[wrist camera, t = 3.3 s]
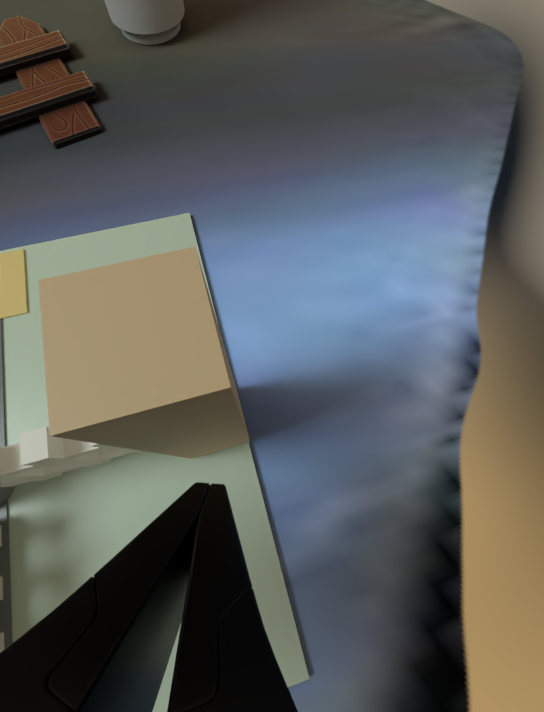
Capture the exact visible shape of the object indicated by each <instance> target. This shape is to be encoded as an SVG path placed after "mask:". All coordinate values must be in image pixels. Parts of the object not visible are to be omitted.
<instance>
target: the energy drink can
mask: <svg viewBox="0 0 544 712" xmlns="http://www.w3.org/2000/svg"><path fill="white" fill-rule="evenodd" d="M105 3H106V6H107V9H108V12H109V15H110V18H111V20H112V21H113V23H114V24H115V25H116V26H117V27H119V28H120V29H121V30H122V33H123V34H124V36H125V37H126V38H128V39H129V40H131V41H133V42H135V43H139V44H145V45H155V44H160V43H164V42H167V41H169V40H171V39H172V38H174V37H175V36H176V35H177V34H178V32H179V31H180V27H181V23H180V21H181V20H182V18H183V16H184V13H185V9H184V2H183V0H105Z"/></svg>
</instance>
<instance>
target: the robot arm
mask: <svg viewBox="0 0 544 712" xmlns="http://www.w3.org/2000/svg"><path fill="white" fill-rule="evenodd" d="M180 624H181V628H180V634H179V640H178V646H177V653H176V659H175V665H174V672H173V678H172V684H171V690H170V697H169V703H168V709H167V712H298V711H297V709H296V706H295V704H294V702H293V699H292V697H291V694H290V692H289V689H288V687H287V684H286V682H285V680H284V677H283V675H282V672H281V670H280V667H279V665H278V662H277V660H276V658H275V655H274V652H273V650H272V647H271V644H270V642H269V639H268V636H267V634H266V631H265V628H264V625H263V621H262V618H261V615H260V612H259V608H258V605H257V601H256V597H255V594H254V590H253V589H252V584H251V580H250V576H249V573H248V569H247V565H246V561H245V557H244V554H243V550H242V546H241V542H240V539H239V535H238V531H237V527H236V523H235V520H234V516H233V512H232V508H231V505H230V501H229V497H228V493H227V489H226V486H225V485H224V484H215V483H212V484H211V485H210V484H209V483H201V482H196V483H194V484H193V485H192V486H191V487H190V488H189V489H188V490H187V491H185V492H184V493H183V494H182V495H181V496H180V497H179V498H178V499H177V500H176V501H174V502H173V503H172V504H171V505H170V506H169V507H168V508H167V509H166V510H165V511H163V512H162V513H161V514H160V515H159V516H158V517H157V518H156V519H155V520H154V521H153V522H151V523H150V524H149V525H148V526H147V527H146V528H145V529H144V530H143V531H142V532H140V533H139V534H138V535H137V536H136V537H135V538H134V539H133V540H132V541H131V542H129V543H128V544H127V545H126V546H125V547H124V548H123V549H122V550H121V551H120V552H118V553H117V554H116V555H115V556H114V557H113V558H112V559H111V560H110V561H109V562H107V563H106V564H105V565H104V566H103V567H102V568H101V569H100V570H99V571H98V572H96V573H95V574H94V577H90V578H89V579H88V580H87V581H86V582H85V583H84V584H83V585H81V586H80V587H79V588H78V589H77V590H76V591H75V592H74V593H72V594H71V595H70V596H69V597H68V598H67V599H66V600H64V601H63V602H62V603H61V604H60V605H59V606H58V607H56V608H55V609H54V610H53V611H52V612H51V613H49V614H48V615H47V616H46V617H44V618H43V619H42V620H41V621H39V622H38V623H37V624H36V625H34V626H33V627H32V628H31V629H30V630H28V631H27V632H26V633H25V634H23V635H22V636H21V637H20V638H18V639H17V640H16V641H14V642H13V643H12V644H11V645H9V646H8V647H7V648H5V649H4V650H3V651H2V652H0V712H152V711H153V708H154V705H155V702H156V699H157V696H158V692H159V689H160V686H161V683H162V680H163V677H164V674H165V671H166V668H167V665H168V661H169V658H170V655H171V652H172V649H173V646H174V643H175V640H176V637H177V633H178V630H179V627H180Z"/></svg>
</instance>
